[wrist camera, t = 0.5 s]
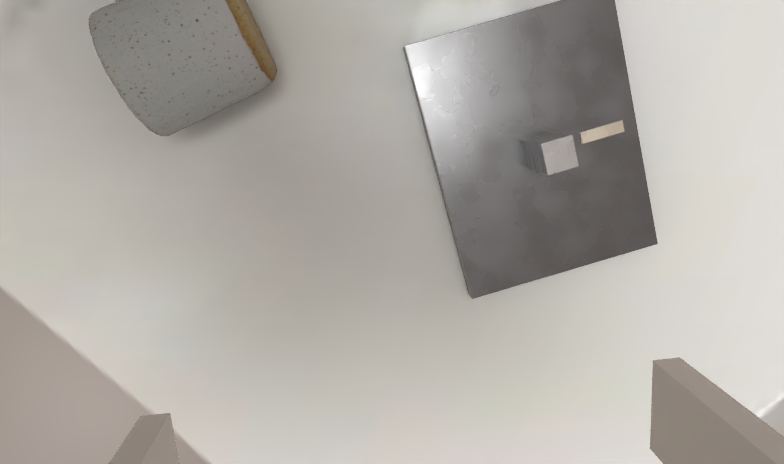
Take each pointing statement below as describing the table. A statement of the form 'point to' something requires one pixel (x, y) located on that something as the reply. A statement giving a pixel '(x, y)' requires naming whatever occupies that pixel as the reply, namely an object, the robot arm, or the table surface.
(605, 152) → the metal panel
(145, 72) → the ceramic mug
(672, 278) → the table surface
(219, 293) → the table surface
